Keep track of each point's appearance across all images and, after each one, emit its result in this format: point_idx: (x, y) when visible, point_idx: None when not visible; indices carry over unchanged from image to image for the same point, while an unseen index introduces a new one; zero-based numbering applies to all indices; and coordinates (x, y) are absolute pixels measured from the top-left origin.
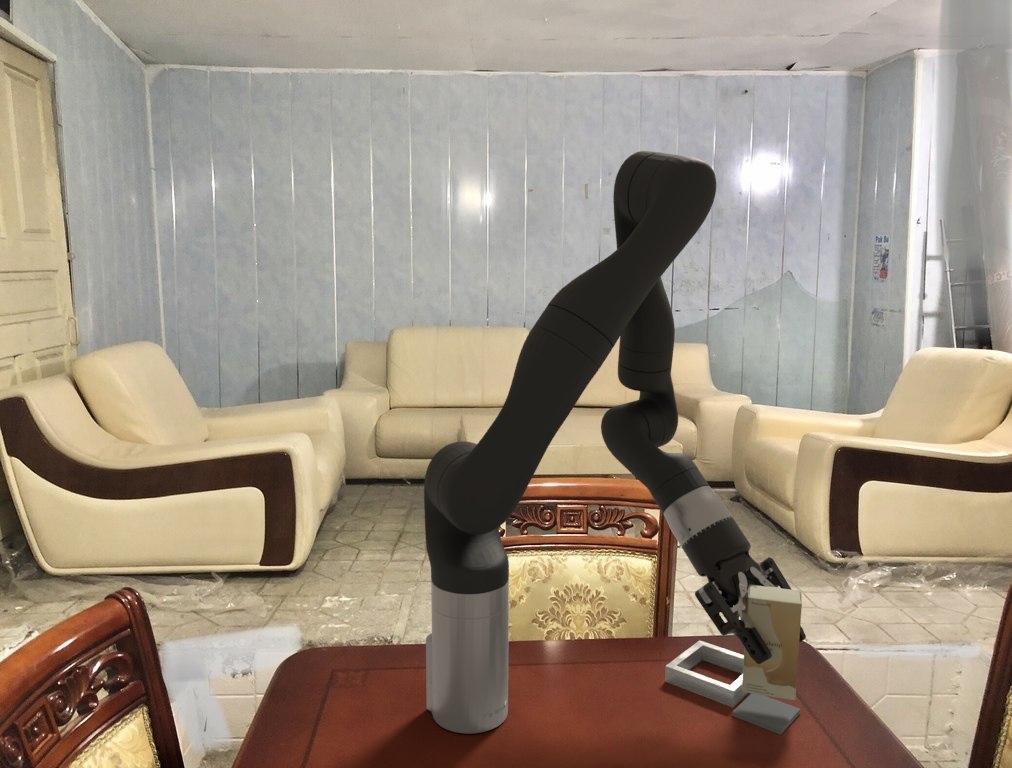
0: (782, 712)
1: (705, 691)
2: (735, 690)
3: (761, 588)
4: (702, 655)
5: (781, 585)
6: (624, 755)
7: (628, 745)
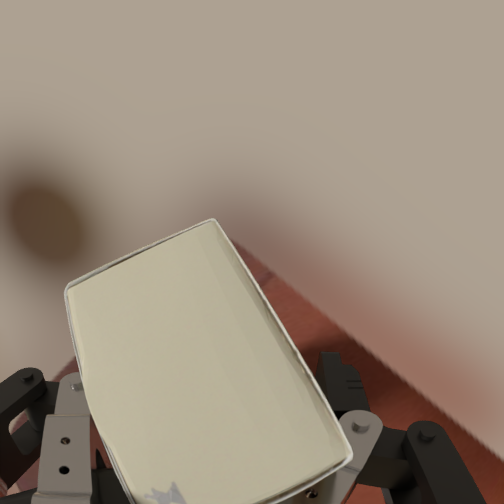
0: None
1: None
2: None
3: (163, 462)
4: None
5: (8, 411)
6: (493, 463)
7: (476, 479)
